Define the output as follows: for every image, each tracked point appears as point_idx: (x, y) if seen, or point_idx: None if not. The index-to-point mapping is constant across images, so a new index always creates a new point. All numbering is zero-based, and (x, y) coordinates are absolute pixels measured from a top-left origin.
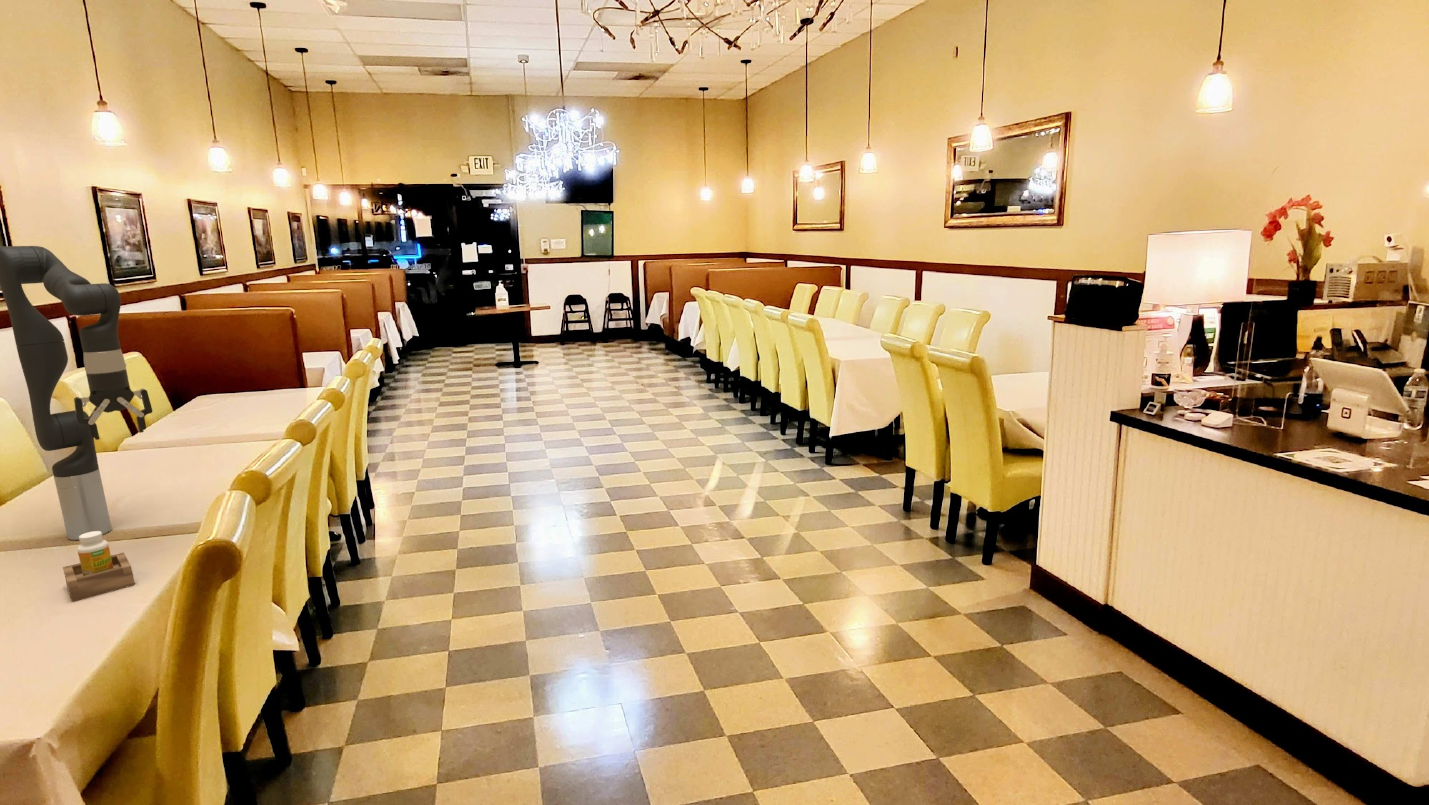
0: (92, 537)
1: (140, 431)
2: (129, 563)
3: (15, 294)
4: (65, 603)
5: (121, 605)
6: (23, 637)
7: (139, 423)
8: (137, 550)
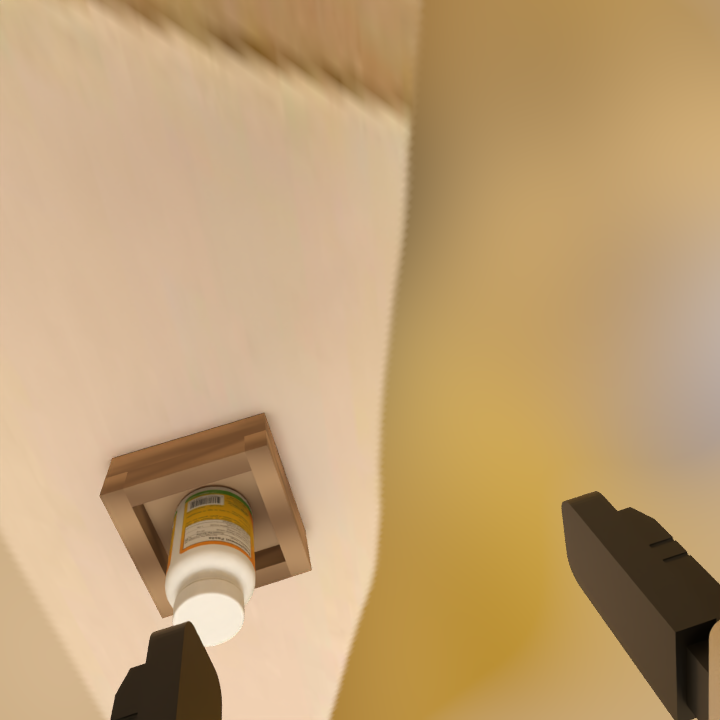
0: (222, 640)
1: (580, 582)
2: (303, 548)
3: None
4: None
5: (295, 635)
6: None
7: (640, 657)
8: (259, 223)
